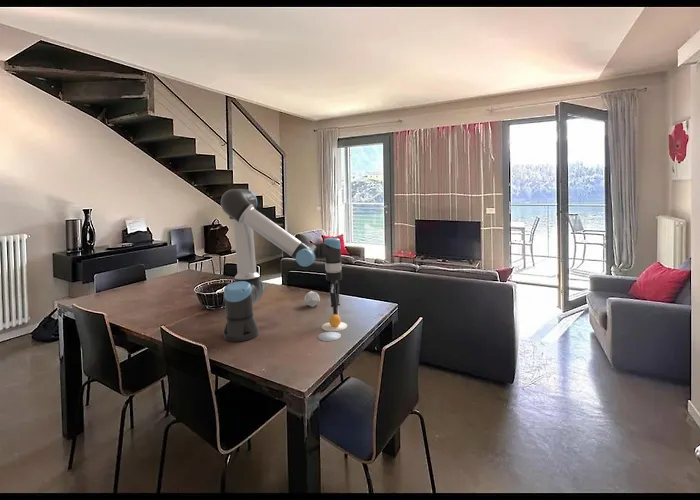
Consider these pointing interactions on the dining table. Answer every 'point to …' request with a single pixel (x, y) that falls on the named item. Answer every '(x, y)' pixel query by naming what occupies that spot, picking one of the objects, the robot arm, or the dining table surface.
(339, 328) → the disc
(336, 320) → the ball
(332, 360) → the dining table surface
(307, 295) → the die
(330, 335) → the disc
